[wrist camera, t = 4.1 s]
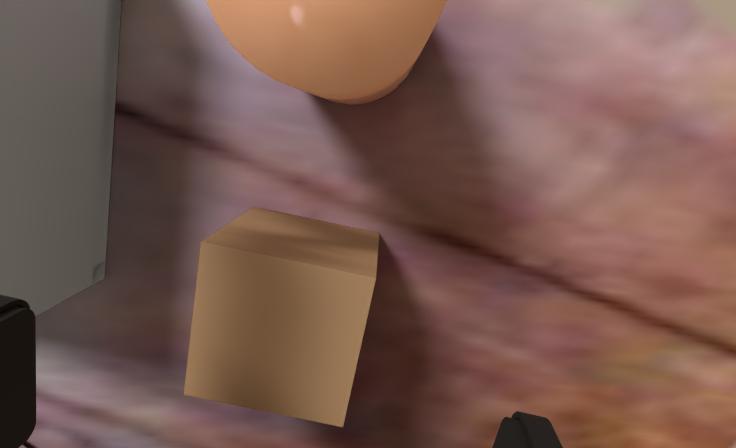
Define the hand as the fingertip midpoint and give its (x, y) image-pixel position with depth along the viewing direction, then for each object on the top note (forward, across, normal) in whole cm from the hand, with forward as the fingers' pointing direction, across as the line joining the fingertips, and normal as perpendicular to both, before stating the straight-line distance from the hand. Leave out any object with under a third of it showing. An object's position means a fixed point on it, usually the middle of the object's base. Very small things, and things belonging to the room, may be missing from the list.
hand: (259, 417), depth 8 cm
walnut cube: (+9, +1, +1) cm, 9 cm away
